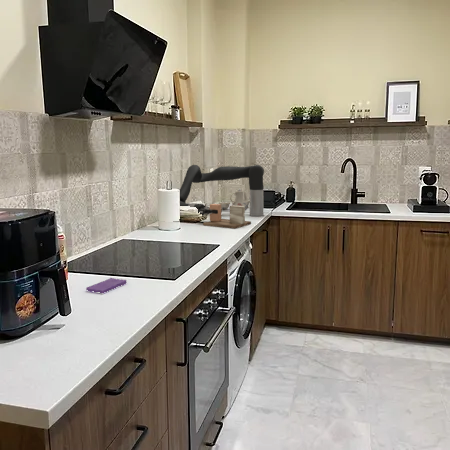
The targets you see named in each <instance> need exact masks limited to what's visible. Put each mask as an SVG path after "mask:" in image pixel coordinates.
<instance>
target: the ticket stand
mask: <svg viewBox="0 0 450 450" xmlns="http://www.w3.org/2000/svg"><path fill="white" fill-rule="evenodd" d="M245 210H246V209H245V206H234V205H232V204H231V205H229V218H221V221H210V220H209V221H205V222H203V226H205V227H206V226H207V227H213V228H214V227H215V228H222V229H223V228H225V229H232V230H235V229H238V228H241V227H243V228H244V227H245V226H249V225H251V224H252V221H249V220H245V217H246V215H245V213H246V212H245Z"/></svg>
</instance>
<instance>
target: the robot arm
mask: <svg viewBox="0 0 450 450" xmlns="http://www.w3.org/2000/svg"><path fill="white" fill-rule="evenodd" d="M264 174H265V169H264V167H263V166H262V165H260V164H255V165H249V166H248V165H247V166H234V165H233V166H232V165H229V166H219V167H217V168H216V169H214V170H212V171H209V172H203V173H202V170H201V168H200V166H199V165H198V164H193V165H192V164H191V165H190V166H189V167H188V168H187V170H186V173H185V176H184V178H183V181H182V184H181V185H180V188H179V190H180V206H190V207H196V208H197V209H198V213H199V212H200V214H202V216H201V217H203V216H204V215H210V214H212V213H213V214H218V210H212V209H210V206H206V205H205V204H204V203H195V202H194V203H190V202H189V203H188V202H186V201H187V199H188V198H189V195H190V193H191V189H192V184H193V183H194V184H199V183H205V182H206V183H207V182H214V181H215V182H216V181H233V180H238V179H244V178H245V179H246V178H247V179H248V187H249V201H250V203H249V216H251V217H262V216H264V189H265V188H264ZM222 213H223V209H221V214H222Z"/></svg>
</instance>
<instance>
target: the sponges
mask: <svg viewBox="0 0 450 450" xmlns="http://www.w3.org/2000/svg"><path fill="white" fill-rule="evenodd" d="M127 282H128V281H127V279H122V278H121V279H120V278H112V277H110V278H108V279H106V280H103V281H99V282H98V283H95V284H93V285H90V286H87V287H86V288H85V289H86V291H87V290H88V291H94V292H100V293H104V292H106V293H108V292H110V291H109V290H111V289H113V290H115V289H117V288H116V287H118V286H120V287H122V286H125V285H127V284H128V283H127ZM126 283H127V284H126ZM124 284H125V285H124ZM121 285H122V286H121ZM114 288H115V289H114ZM118 288H119V287H118ZM107 291H108V292H107ZM111 291H112V290H111ZM100 293H99V294H100ZM104 294H105V293H104Z"/></svg>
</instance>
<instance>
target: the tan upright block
mask: <svg viewBox="0 0 450 450" xmlns="http://www.w3.org/2000/svg"><path fill="white" fill-rule="evenodd" d="M209 207H210V209H212V210H218V214H213V213H212V214H209V221H221V219H222V213H221V204H219V203H218V204H217V203H212V204H211V203H210V204H209Z"/></svg>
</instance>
